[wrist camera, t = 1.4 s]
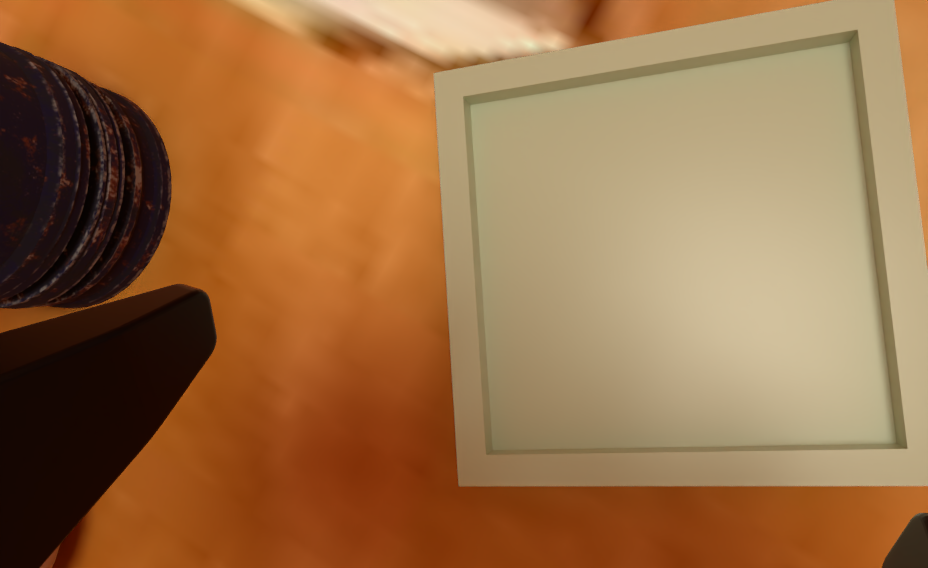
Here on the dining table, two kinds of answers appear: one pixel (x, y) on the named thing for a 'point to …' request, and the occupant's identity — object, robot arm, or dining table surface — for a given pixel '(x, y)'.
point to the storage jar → (74, 186)
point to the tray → (689, 258)
